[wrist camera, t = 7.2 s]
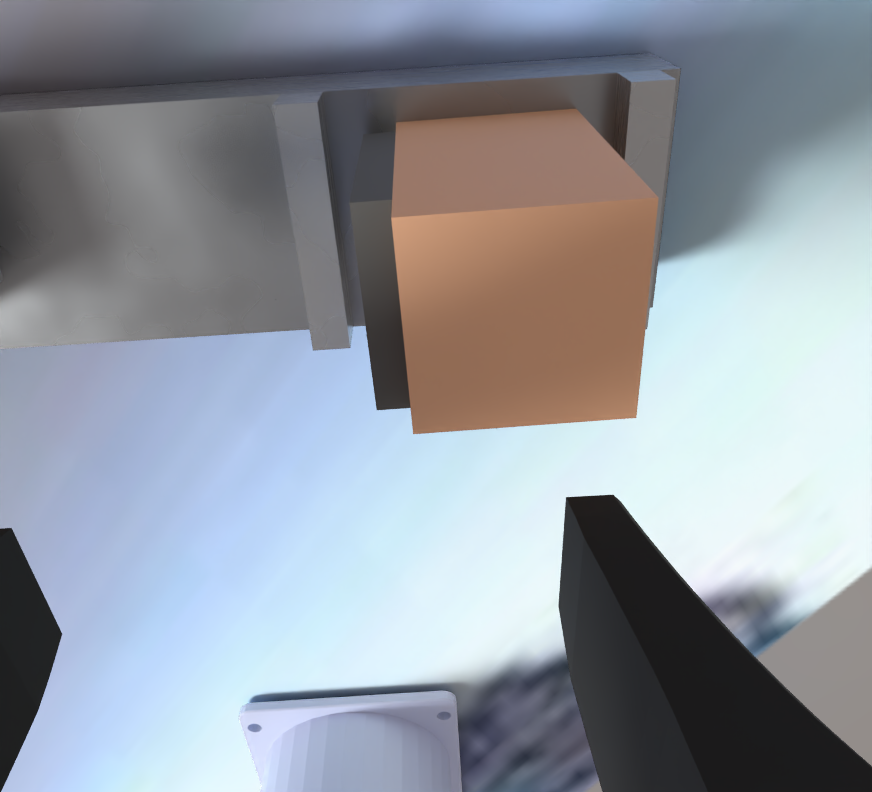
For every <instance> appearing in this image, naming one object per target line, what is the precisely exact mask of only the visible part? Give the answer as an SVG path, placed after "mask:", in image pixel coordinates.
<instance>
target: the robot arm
mask: <svg viewBox="0 0 872 792" xmlns="http://www.w3.org/2000/svg"><path fill="white" fill-rule="evenodd" d="M559 612H560V618H561V624H562V630H563V636H564V642H565V648H566V654H567V660H568V665H569V671H570V677H571V681H572V685H573V689H574V692H575V696H576V700H577V703H578V707H579V710H580V714H581V717H582V721H583V724H584V728H585V732H586V735H587V739H588V742H589V746H590V749H591V753H592V756H593V760H594V763H595V767H596V770H597V774H598V777H599V781H600V784H601V788H602V791H603V792H872V766H871V765H870V764H868V763H867V762H866V761H865V760H864V759H863V758H862V757H861V756H859V755H858V754H857V753H856V752H855V751H854V750H853V749H851V748H850V747H849V746H848V745H847V744H846V743H845V742H844V741H842V740H841V739H840V738H839V737H838V736H837V735H836V734H834V733H833V732H832V731H831V730H830V729H829V728H828V727H826V725H825V724H823V723H822V722H821V721H820V720H819V719H818V718H817V717H816V716H814V714H813V713H812V712H811V711H809V710H808V709H807V708H806V707H805V706H804V705H803V704H802V703H801V702H800V701H799V700H798V699H797V698H796V697H795V696H794V695H793V694H792V693H791V692H790V691H789V690H788V689H786V688H785V687H784V686H783V685H782V684H781V683H780V682H779V681H778V680H777V679H776V678H775V677H774V676H773V675H772V674H771V673H770V672H769V671H768V670H767V669H766V668H765V667H764V666H763V665H762V664H761V663H760V662H759V661H758V660H757V659H756V658H755V657H754V656H753V655H752V654H751V652H750V651H749V650H748V649H747V648H746V647H745V646H744V645H743V644H742V643H741V642H740V641H739V640H738V639H737V638H736V637H735V636H734V635H733V634H732V633H731V632H730V630H729V629H728V628H727V627H726V626H725V625H724V624H723V623H722V622H721V621H720V619H719V618H718V617H717V616H716V615H715V614H714V613H713V612H712V611H711V610H710V608H709V607H708V606H707V605H706V604H705V603H704V602H703V601H702V600H701V598H700V597H699V596H698V595H697V594H696V593H695V592H694V591H693V590H692V588H691V587H690V586H689V585H688V584H687V583H686V582H685V580H684V579H683V578H682V577H681V576H680V575H679V573H678V572H677V571H676V570H675V569H674V568H673V566H672V565H671V564H670V563H669V562H668V560H667V559H666V558H665V557H664V556H663V554H662V553H661V552H660V551H659V550H658V548H657V547H656V546H655V545H654V543H653V542H652V541H651V540H650V539H649V537H648V536H647V535H646V534H645V532H644V531H643V530H642V529H641V527H640V526H639V525H638V523H637V522H636V521H635V520H634V518H633V517H632V516H631V515H630V513H629V512H628V511H627V509H626V508H625V507H624V505H623V504H622V503H621V502H620V501H619V500H618V499H617V498H616V497H615V496H614V495H600V496H582V497H566V507H565V521H564V536H563V550H562V564H561V579H560V593H559ZM61 636H62V633H61V631H60V628H59V626H58V624H57V622H56V620H55V618H54V616H53V614H52V612H51V610H50V608H49V605H48V603H47V601H46V599H45V597H44V595H43V593H42V591H41V589H40V587H39V585H38V582H37V580H36V578H35V576H34V574H33V572H32V570H31V568H30V566H29V564H28V562H27V560H26V557H25V555H24V553H23V551H22V549H21V547H20V545H19V543H18V541H17V539H16V537H15V534H14V532H13V530H12V528H5V529H0V792H1V790H2V788H3V786H4V784H5V782H6V780H7V778H8V776H9V773H10V771H11V769H12V767H13V765H14V763H15V760H16V758H17V756H18V754H19V752H20V749H21V747H22V745H23V743H24V741H25V739H26V736H27V734H28V732H29V730H30V728H31V725H32V723H33V721H34V718H35V716H36V714H37V712H38V709H39V706H40V703H41V700H42V697H43V694H44V691H45V688H46V685H47V682H48V680H49V677H50V673H51V670H52V667H53V663H54V660H55V656H56V653H57V650H58V646H59V643H60V639H61ZM239 722H240V725H241V727H242V730H243V733H244V736H245V739H246V742H247V745H248V748H249V751H250V754H251V757H252V760H253V763H254V766H255V769H256V772H257V775H258V778H259V781H260V784H261V790H260V792H462V782H461V766H460V750H459V734H458V718H457V703H456V697H455V695H454V694H453V693H451V692H449V691H427V692H412V693H396V694H380V695H365V696H349V697H333V698H317V699H302V700H286V701H270V702H254V703H247V704H245V705H244V706H242V707H241V709H240V713H239Z"/></svg>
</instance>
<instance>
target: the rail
mask: <svg viewBox="0 0 872 792" xmlns="http://www.w3.org/2000/svg"><path fill="white" fill-rule="evenodd" d="M680 72H681V68H679V67H677V66H675V65H673V64H671V63H669V62H667V61H665V60H663V59H661V58H660V57H658V56H656V55H654V54H652V53H645V54H630V55H614V56H598V57H583V58H567V59H552V60H536V61H521V62H505V63H489V64H474V65H458V66H443V67H427V68H411V69H396V70H380V71H365V72H349V73H334V74H318V75H302V76H287V77H271V78H256V79H240V80H225V81H209V82H193V83H178V84H162V85H147V86H131V87H116V88H100V89H84V90H69V91H53V92H38V93H22V94H7V95H0V349H9V348H24V347H40V346H56V345H71V344H87V343H103V342H118V341H134V340H150V339H165V338H181V337H196V336H212V335H228V334H243V333H259V332H275V331H290V330H306V329H310V334H311V340H312V346H313V350H326V349H342V348H350V346H351V339H352V331H353V326H366V325H365V317H364V310H363V302H362V295H361V287H360V280H359V272H358V264H357V257H356V249H355V242H354V234H353V227H352V219H351V212H350V204H349V202H350V197H351V192H352V187H353V183H354V178H355V173H356V168H357V163H358V158H359V153H360V149H361V144H362V139H363V134H370V133H383V132H396V122H408V121H421V120H434V119H447V118H460V117H473V116H486V115H499V114H512V113H525V112H538V111H551V110H564V109H577V110H578V111H579V112H580V113H581V114H582V115H583V116H584V118H585V119H586V120H587V121H588V122H589V123H590V124H591V125H592V126H593V127H594V128H595V129H596V131H597V132H598V133H599V134H600V135H601V136H602V137H603V138H604V139H605V140H606V141H607V142H608V143H609V145H610V146H611V147H612V148H613V149H614V150H615V151H616V152H617V153H618V154H619V155H620V156H621V157H622V159H623V160H624V161H625V162H626V163H627V164H628V165H629V166H630V167H631V168H632V169H633V170H634V171H635V173H636V174H637V175H638V176H639V177H640V178H641V179H642V180H643V181H644V182H645V183H646V184H647V186H648V187H649V188H650V189H651V190H652V191H653V192H654V193H655V194H656V195H657V196H658V197H659V199H658V209H657V218H656V228H655V238H654V248H653V258H652V267H651V277H650V287H649V297H648V307H647V317H646V326H645V329H647V326H648V318H649V309H650V307H653V299H654V291H655V283H656V274H657V266H658V257H659V249H660V240H661V232H662V224H663V215H664V207H665V198H666V190H667V182H668V173H669V165H670V156H671V148H672V140H673V131H674V123H675V114H676V106H677V98H678V89H679V81H680Z"/></svg>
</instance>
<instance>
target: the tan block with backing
mask: <svg viewBox="0 0 872 792" xmlns="http://www.w3.org/2000/svg"><path fill="white" fill-rule="evenodd" d="M658 199H659V197H658V196H657V195H656V194H655V193H654V192H653V191H652V190H651V189H650V188H649V187H648V186H647V184H646V183H645V182H644V181H643V180H642V179H641V178H640V177H639V176H638V175H637V174H636V173H635V171H634V170H633V169H632V168H631V167H630V166H629V165H628V164H627V163H626V162H625V161H624V160H623V159H622V157H621V156H620V155H619V154H618V153H617V152H616V151H615V150H614V149H613V148H612V147H611V146H610V145H609V143H608V142H607V141H606V140H605V139H604V138H603V137H602V136H601V135H600V134H599V133H598V132H597V131H596V129H595V128H594V127H593V126H592V125H591V124H590V123H589V122H588V121H587V120H586V119H585V118H584V116H583V115H582V114H581V113H580V112H579V111H578V110H577V109H564V110H551V111H538V112H525V113H512V114H499V115H486V116H473V117H460V118H447V119H434V120H421V121H408V122H396V132H383V133H370V134H363V139H362V144H361V149H360V153H359V158H358V163H357V168H356V173H355V178H354V183H353V187H352V192H351V197H350V202H349V204H350V212H351V219H352V227H353V234H354V242H355V249H356V257H357V264H358V272H359V280H360V287H361V295H362V302H363V310H364V317H365V325H366V332H367V340H368V347H369V355H370V362H371V370H372V377H373V385H374V393H375V400H376V408H377V410H386V409H400V408H411V416H412V426H413V434H421V433H435V432H448V431H462V430H476V429H489V428H503V427H516V426H530V425H544V424H557V423H571V422H585V421H598V420H612V419H625V418H636V415H637V405H638V395H639V385H640V375H641V366H642V356H643V346H644V336H645V326H646V317H647V307H648V297H649V287H650V277H651V267H652V258H653V248H654V238H655V228H656V218H657V209H658Z"/></svg>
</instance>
